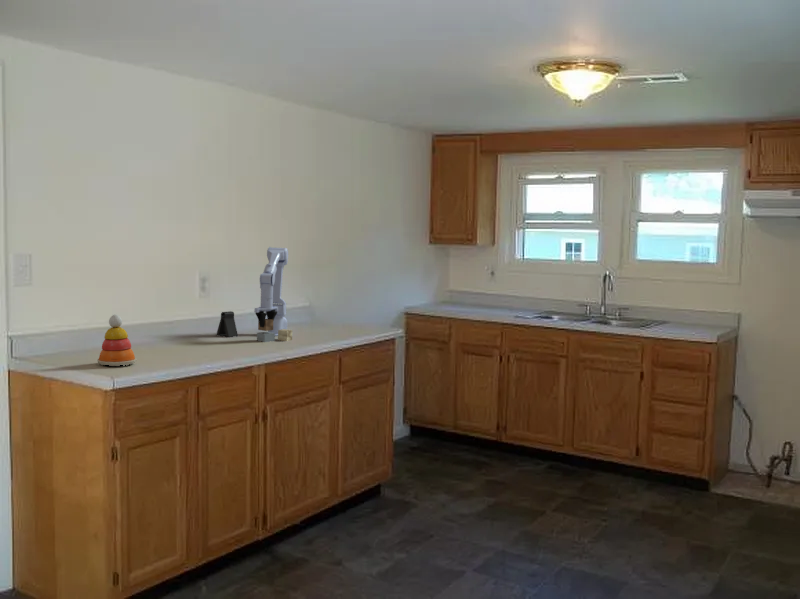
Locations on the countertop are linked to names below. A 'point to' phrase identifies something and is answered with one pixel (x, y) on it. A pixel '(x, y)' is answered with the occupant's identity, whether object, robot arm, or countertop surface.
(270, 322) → the walnut cube
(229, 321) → the phone stand
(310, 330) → the countertop surface
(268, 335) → the grey base block
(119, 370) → the countertop surface
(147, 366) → the countertop surface
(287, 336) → the maple cube
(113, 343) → the stacking toy
